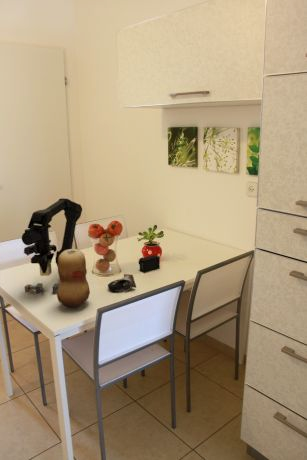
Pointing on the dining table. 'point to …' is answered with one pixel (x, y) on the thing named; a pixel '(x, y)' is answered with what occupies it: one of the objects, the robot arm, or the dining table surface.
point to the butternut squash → (72, 278)
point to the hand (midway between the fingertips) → (45, 271)
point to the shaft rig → (40, 288)
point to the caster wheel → (122, 284)
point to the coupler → (46, 270)
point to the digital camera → (149, 263)
